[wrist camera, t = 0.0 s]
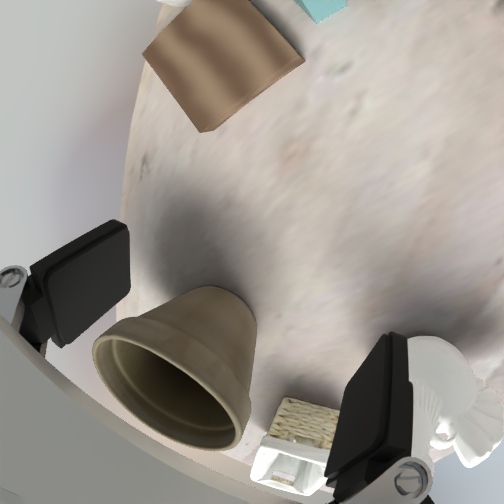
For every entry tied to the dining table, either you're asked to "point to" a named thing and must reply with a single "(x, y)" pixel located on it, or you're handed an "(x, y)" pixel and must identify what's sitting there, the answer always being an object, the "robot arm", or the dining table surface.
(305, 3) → the teal carton
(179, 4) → the pill bottle
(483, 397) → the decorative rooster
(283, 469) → the storage basket
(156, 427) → the plant pot
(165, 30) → the wavy brown panel
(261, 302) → the dining table surface
